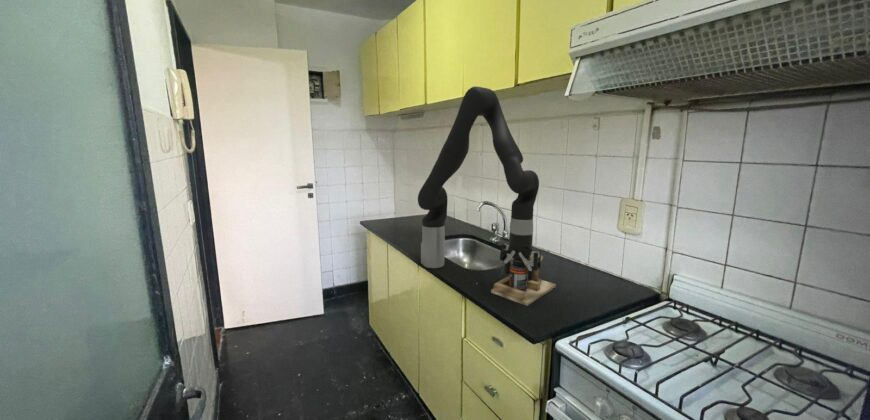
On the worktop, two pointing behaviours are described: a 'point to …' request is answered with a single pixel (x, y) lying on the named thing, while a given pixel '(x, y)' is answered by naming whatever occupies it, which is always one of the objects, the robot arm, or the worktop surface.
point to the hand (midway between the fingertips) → (518, 276)
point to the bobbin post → (536, 272)
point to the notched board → (532, 293)
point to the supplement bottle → (518, 275)
